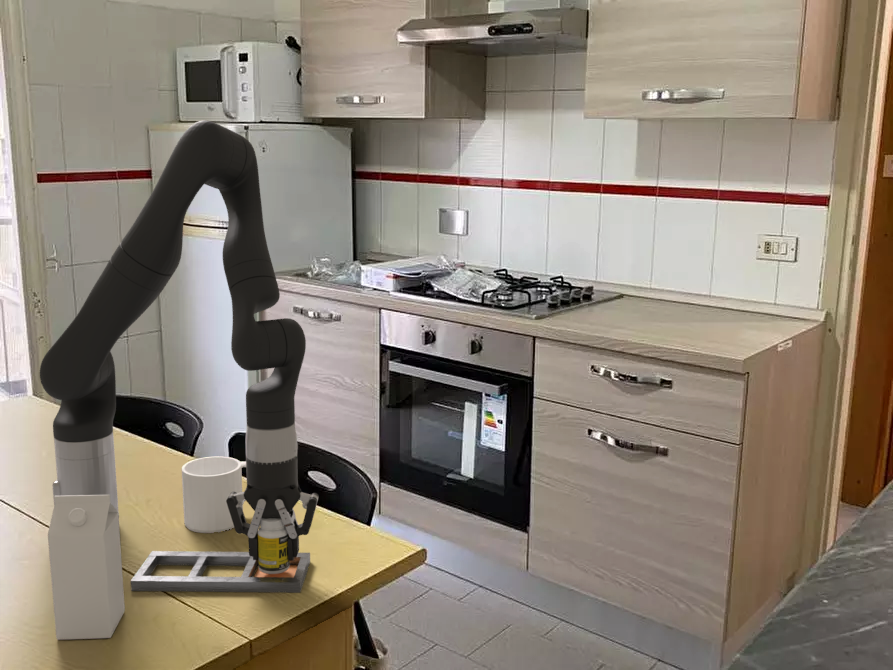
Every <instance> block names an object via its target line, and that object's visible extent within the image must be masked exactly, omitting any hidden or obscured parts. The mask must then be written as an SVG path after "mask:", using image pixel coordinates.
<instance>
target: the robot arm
mask: <svg viewBox="0 0 893 670" xmlns="http://www.w3.org/2000/svg"><path fill="white" fill-rule="evenodd" d="M204 185H206V186H209V187H211V188H214V189H217V190H219V193H220V196H221V197H222V199H223V202H224V204H225V207H226V211H227V216H228V217H227V218H228V221H227V222H228V223H227V230H226V234H225V238H224V240H223V241H224V242H223V247H222V263H223V264H222V265H223V271H224V275H225V279H226V282H227V286H228V290H229V293H230V298H231V299H230V300H231V308H232V309H231V310H232V327H231V328H232V329H231V342H230V343H231V347H230V349H231V355H232V357H233V359H234V361H235V363H236V364H237V365H238V366H239V367H240V368H241V369H243V370H244V371H250V372H251V371H253V372H254V371H262V370H266V369H267V370H268V369H269V370H270V369H273V371H272V372H271V374H270V376H269V377H267V378H266V379H264V380H261V381H259V382H257V383H254V384H251V385H250V386H249V387H248V389H247V390H246V393H245V409H246V410H245V412H246V413H245V414H246V431H245V443H244V444H245V461H246V467H245V468H246V471H245V472H246V487H245V489H246V490H244V491H242V492H240V493H236V492H231V493H230V495H229V497H228V498H227V500H226V503H227V506H228V509H229V512H230V515H231V518H232V521H233V525H234V528H233V529H234V531H235V533H236V534H238V535H242V534H243V535H244V536H246V537H247V539H248V552H249V555H250V556H253V560H258V530H259V528H260V521H261V517H262V518H270V517H274V518H280V519H282V522H283V524H284V526H285V527H286V529H287V532H288V534H289V537H288V561H293V560H294V557H297V554H298V553H300V552H299V551H300V537H301V536H307V535H308V534H309V533H310V529H311V527H312V523H313V519H314V516H315V513H316V508H317V504H318V501H319V494H318V493H317V492H313V493H310V494H309V493H307V492H303V491H302V489H301V488H300V485H299V480H298V479H299V477H298V474H299V473H298V450H299V444H298V437H297V436H298V435H297V428H296V415H295V414H296V412H295V411H296V410H295V409H296V408H295V407H296V406H295V405H296V404H295V396H296V395H295V394H296V391H297V387H298V380H299V376H300V374H301V373H300V372H301V369H302V365H303V363H304V359H305V353H306V348H307V346H306V345H307V343H306V342H307V340H306V335H305V332H304V330H303V328H302V325H301V324H299V322H297V320H294V319H293V318H286V317H285V318H277V319H275V318H274V319H268V320H267V319H265V320H258V321H256V319H255V314H258V313H260V312H264V311H266V310H268V309H271V308H273V307H274V306H275V305H276V304H277V303H278V302H279V300H280V297H281V296H280V289H279V285H278V282H277V277H276V274H275V270H274V266H273V263H272V258H271V255H270V252H269V248H268V244H267V243H268V242H267V238H266V234H265V225H264V217H263V216H264V215H263V205H262V198H261V196H262V195H261V188H260V187H261V186H260V177H259V165H258V159H257V156H256V152H255V148H254V147H253V145H252V143H251V142H250V141H249V140H248V139H247V138H246V137H244V136H243V135H241V134H239V133H237V132H235V131H233V130H231V129H230V128H227V127H226V126H223V125H222V124H221V125H220V124H218V123H216V122H214V121H212V120H207V119H205V120H204V119H203V120H199V121H196V122H194V123H192V124H191V125H190V126H189V127H188V128H187V129H185V131H184V133H183V134H182V135H181V136H180V137H179V140H178V141H177V143H176V145H175V147H174V149H173V150H172V153H171V154H170V156H169V159H168V161H167V163H166V165H165V167H164V169H163V171H162V172H161V174H160V177H159V179H158V180H157V183H156V185H155V186H154V189H153V190H152V192H151V193H150V195H149V197H148V199H147V201H146V203H144V206H143V207H142V208H141V211H140V213H139V214H138V215H137V217H136V219H135V220H134V222H133V223H132V225H131V226H130V228H129V230H128V231H127V232H126V234H125V236H124V237H123V238H122V240H121V242H120V243H119V245H117V247H116V249H115V251H114V252H113V254H112V255H111V257H110V258H109V261H108V262H107V264H106V266H105V267H104V268H103V270H102V272H101V274H100V276H99V277H98V279H97V280H96V282H95V283H94V286H93V287H92V289H91V290H90V292H89V294H88V296H87V298H86V299H85V300H84V303H83V305H82V307H81V308H80V309H79V311H78V313H77V315H76V316H75V317H74V319H73V320H72V321H71V323H70V324H69V325H68V326H67V328H65V331H64V332H63V333H62V334H61V335H60V336H59V337H58V339H57V340H56V341H55V342H54V344H53V345H52V346H51V347H50V348H49V349H48V351H47V352H46V353H45V354H44V356H43V358H42V361H41V363H40V367H39V379H40V384H41V386H42V388H43V390H44V391H45V392H46V394H47V395H49V396H50V397H52V398H53V399H56V400H60V401H61V402H60V406H59V409H58V411H57V413H56V415H55V417H54V419H53V420H52V421H53V422H52V434H53V441H54V443H53V444H54V454H55V455H54V457H55V468H56V479H55V481H54V482H52V496H53V497H52V498H53V499H54V496H67V495H110V503H111V504H112V505H113V507H114V508H115V509H116V510H117V512H118V516H119V517H120V513H119V500H118V499H119V498H118V484H117V472H116V470H117V468H116V453H115V441H114V440H115V439H114V419H115V414H116V411H117V409H116V408H117V392H116V391H117V389H116V388H117V386H116V383H117V382H116V381H117V379H116V369H115V366H116V365H115V361H114V357H113V354H112V352H111V350H112V349H113V347H114V345H116V342H117V341H118V340H119V339H120V338H121V337H122V335H123V334H124V333H125V332H126V331H127V330H128V329H129V328H130V327H131V326H132V325H133V324H134V323H135V322H136V321H137V320H138V319H139V318H140V317H141V316H143V314H144V313H145V311H146V310H147V309H148V308H150V306H151V305H152V304H153V303H154V301H155V300H156V299H158V297H159V296H160V294H161V293H162V292H163V290H164V289H165V287H166V286H167V284H168V283H169V281H170V279H171V278H172V277H173V275H174V273H175V272H176V271H177V268H178V267H179V264H180V263H181V258H182V254H183V253H182V252H183V242H184V241H183V238H184V236H183V235H184V222H185V217H186V214H187V212H188V210H189V207H190V206H191V204H192V202H193V201H194V199H195V197H196V196H197V194H198V193H199V191H200V190H201V188H203V186H204ZM244 499H245V500H246V501H244ZM299 501H301V503H302V508H303V509H305V514H304V518H303V521H302V523H300V524H299V523H298V521H297V518H296V517H297V516H296V512H295V509H294V507H295V506H296V505H297V504H298V502H299ZM245 502H247V504H248V505H249V506H250V507H251V509H252V510H253V511H254V513H253V516H252V519H251V522H250V523H248V522H247V519H246V516H245V513H244V509H243V510H242V505H243V506H244V503H245ZM54 505H55V501H54V500H53V506H54Z"/></svg>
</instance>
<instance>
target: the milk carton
mask: <svg viewBox="0 0 893 670" xmlns="http://www.w3.org/2000/svg"><path fill="white" fill-rule="evenodd" d="M54 501H55V505H54V504H53V508H52V509H53V510H52V515H51V518H50V523H49V527H48V531H47V542H48V554H49V555H48V556H49V566H50V567H49V568H50V579H51V591H52V600H53V603H52V604H53V614H54V615H53V616H54V625H55V626H54V627H55V636H56V637H55V638H56V640H60V641H61V640H83V639H84V640H88V639H90V640H91V639H111V638H112V636H113V634H114V632H115V630H116V629H117V626H118V625H119V623H120V622H121V619H122V617H123V615H124V613H125V609H126V608H125V595H124V593H125V592H124V578H123V563H122V550H121V546H122V545H121V535H120V515H119V516H118V512H119V511H118V512H117V510H116V509H115V508H114V507H113V505H112V504H111V503H110V495H67V496H54V498H53V502H54Z"/></svg>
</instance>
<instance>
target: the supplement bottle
mask: <svg viewBox="0 0 893 670" xmlns="http://www.w3.org/2000/svg"><path fill="white" fill-rule="evenodd" d="M288 537H289V534H288V532H287V529H286V527H285V526H284V524H283V522H282V519H280V518H274V517H270V518H262V517H261V521H260V526H259V529H258V562H259V566H258V567H259V570H260V571H261V572H263V573H266V574H279V573H283V572H285V571H286V570H288V568H289V566H290V561H288Z"/></svg>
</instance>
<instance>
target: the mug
mask: <svg viewBox="0 0 893 670" xmlns="http://www.w3.org/2000/svg"><path fill="white" fill-rule="evenodd" d="M242 468H246V460H245V461H240V460H238V459H237V458H233V457H230V456H229V457H228V456H220V455H219V456H218V455H217V456H207V457H200V458H195V459H193V460H190V461H188V462H186V463H184V464H183V465H182V467H181V484H182V499H183V500H182V502H183V503H182V505H183V521H184V522H183V523H184V525H185V526H184V527H186V528H187V529H188V530H189V531H192V532H195V533H200V534H215V533H214V532H218V533H222V532H221V531H224V532H226V531H225V530H227V531H230V530H233V529H235V528H234V525H233V521H232V518H231V515H230V512H229V509H228V506H227V503H226V500H227V498H228V497H229V495H230V493H231V492H236V493H240V492H243V475H242V474H243V473H242ZM245 490H246V488H245ZM245 490H244V491H245ZM244 502H247V501H246V500H245V499H244ZM242 510H243V511H244V504H243V505H242ZM232 528H233V529H232ZM229 529H230V530H229Z"/></svg>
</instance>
